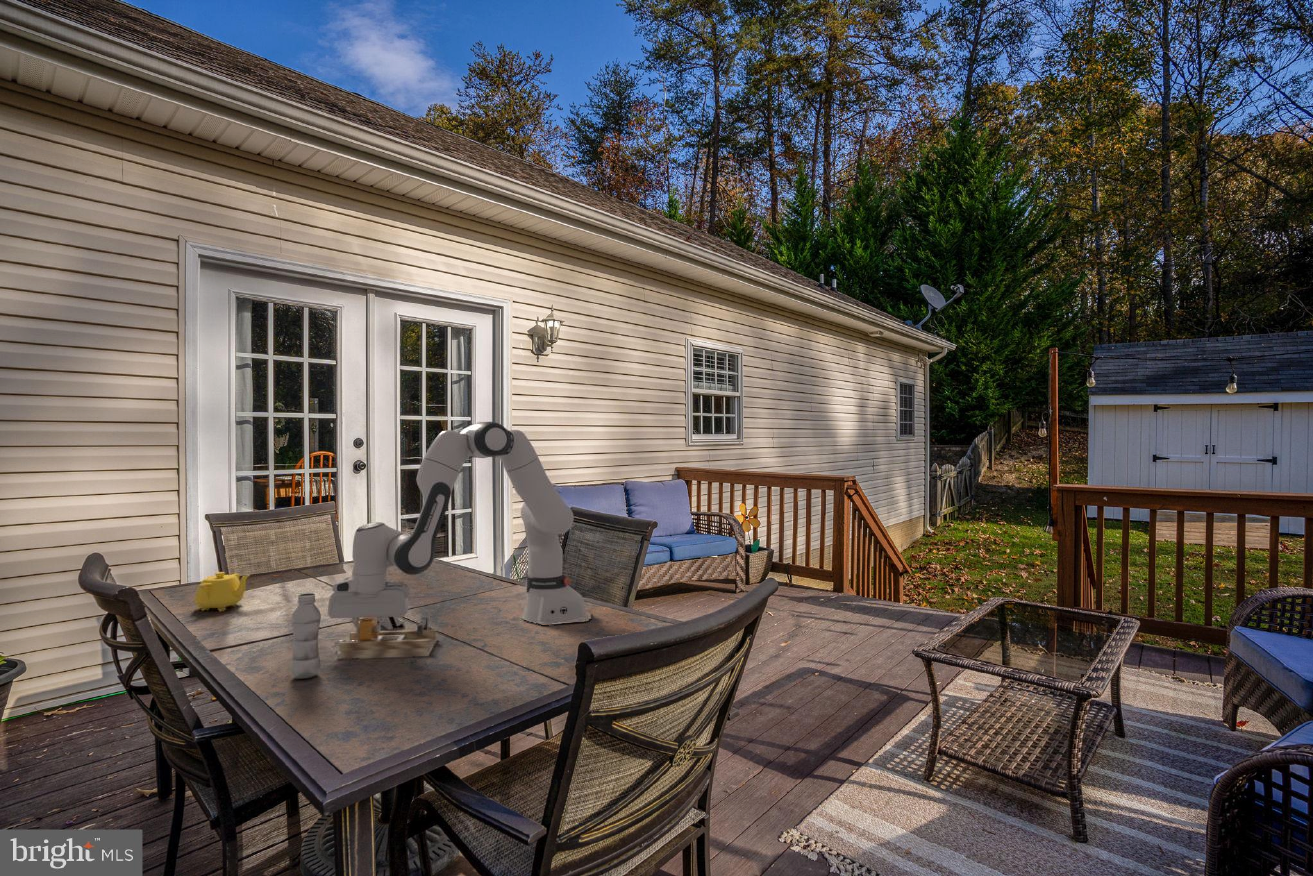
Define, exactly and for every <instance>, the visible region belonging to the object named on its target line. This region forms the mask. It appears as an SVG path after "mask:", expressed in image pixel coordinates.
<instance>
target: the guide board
mask: <svg viewBox="0 0 1313 876" xmlns="http://www.w3.org/2000/svg"><path fill="white" fill-rule="evenodd" d="M400 634H406V639H405V640H386V641H362V642H347V641H346V642H341V643H340V644H339V650H338V652H337V653H336V660H353V659H352V658H354V659H355V658H359V659H378V658H379V659H380V658H381V659H382V658H383V659H384V658H407V657H408V658H411V657H413V656H415V657H429V656H430V653H431V652H432V650H433V648H434V647H435V645H436V642H437V641H438V633H437V629H428V630H423V636H418V637H417V629H412V630H411V629H410V630H381V631H380V633H377V637H378V636H379V635H400ZM349 640H359V634H356V631H350V632H349ZM434 644H435V645H434ZM433 646H434V647H433ZM342 658H343V659H342ZM345 658H346V659H345ZM347 658H348V659H347ZM350 658H351V659H350Z"/></svg>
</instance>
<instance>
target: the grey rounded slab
mask: <svg viewBox="0 0 1313 876" xmlns="http://www.w3.org/2000/svg"><path fill="white" fill-rule="evenodd" d="M378 622H380V621H378V617H377V623H378ZM381 626H383V627H384V628H385V629H387V630H388V629H389V630H388V631H391V630H392V629H394V627H398V626H402V627H403V628H405V627H406V624H405V622H404V621H403V620H402V619H400V618H399V617H385V620H384V621H383V623H382V625H381ZM390 629H391V630H390Z"/></svg>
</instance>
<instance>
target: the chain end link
mask: <svg viewBox="0 0 1313 876" xmlns="http://www.w3.org/2000/svg"><path fill="white" fill-rule="evenodd" d="M359 624H360V632H359V640H350V639H349V640H335V641H334V642H333V643H334V645H340V643H341V642H362V641H386V640H405V639H406V634H400V635H379V636H378V637H377V633H373V631H374V630H373V627H374V626H375V625H378V622H377V617H364V618H361V619H360V621H359Z"/></svg>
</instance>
